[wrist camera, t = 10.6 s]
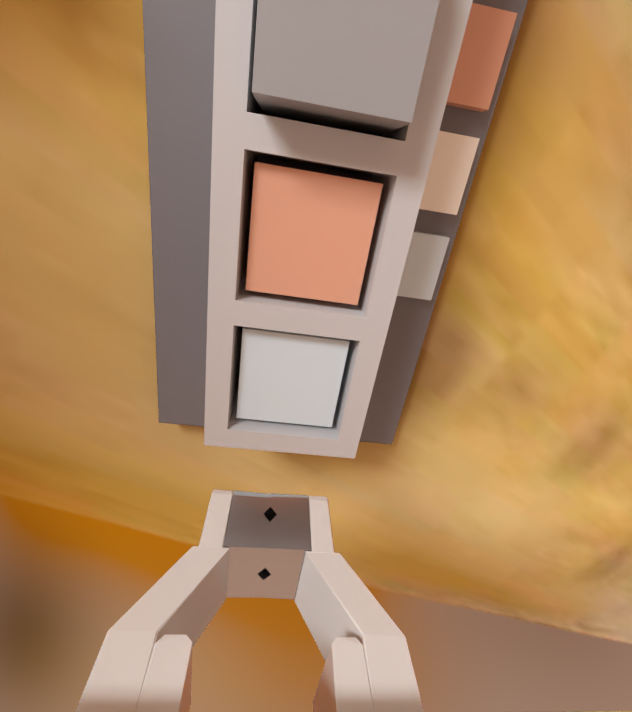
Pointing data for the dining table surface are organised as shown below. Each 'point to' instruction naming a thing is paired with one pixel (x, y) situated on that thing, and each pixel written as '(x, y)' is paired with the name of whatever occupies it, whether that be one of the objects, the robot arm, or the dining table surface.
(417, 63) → the key grey
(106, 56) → the dining table surface
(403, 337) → the keypad
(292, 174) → the key terracotta
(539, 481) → the dining table surface
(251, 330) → the white box
